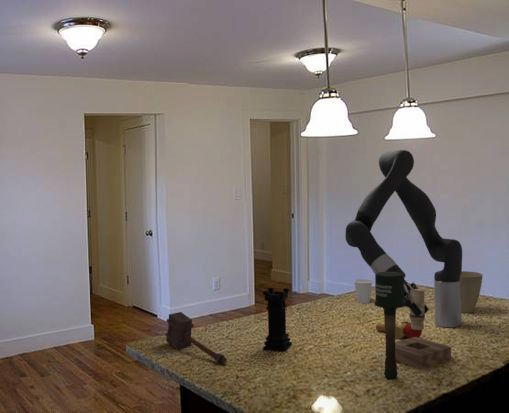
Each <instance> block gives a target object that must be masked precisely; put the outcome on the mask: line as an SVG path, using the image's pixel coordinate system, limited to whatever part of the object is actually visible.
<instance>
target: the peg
mask: <svg viewBox="0 0 509 413" xmlns="http://www.w3.org/2000/svg"><path fill="white" fill-rule="evenodd" d="M410 294H411V299H412V300H413V302H414V303H415V304H416V305H417V306H418V308H419V309H420V310H421V311H422V314H421V315H419V316H418V317H417V316H416V315H415V314H414V313H413V312H412V311H411V309H410V308H409V319H410V323H411V329H414V330H422V331H423V330H424V329H425V326H424V324H425V323H424V321H425V317H426V313H425V305H426V304H425V289H420V288H418V289H411V290H410ZM414 303H413V304H414Z"/></svg>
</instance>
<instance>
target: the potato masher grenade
mask: <svg viewBox="0 0 509 413" xmlns="http://www.w3.org/2000/svg"><path fill="white" fill-rule="evenodd" d="M374 278H375V279H374V280H375V281H374V282H375V291H374V292H375V301H374V306H375V307H378V308H382V309H383V315H384V318H383V319H384V320H383V321H384V323H383V324H384V325H385V331H384V333H385V360H384V372H383V373H384V377H385V378H386V379H389V380H395V379H397V378H398V374H399V372H398V368H397V367H398V366H397V364H398V363H397V361H396V358H395V342H396V337H395V327H396V325H397V321H396V320H397V319H396V318H397V317H396V316H397V314H396V313H397V310H398V309H399V308H405V307H406V306H405V302H404V280H405V278H404V275H403V274H402V273H399V272H378V273H376V274H375V273H374ZM404 306H405V307H404Z"/></svg>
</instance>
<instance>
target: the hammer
mask: <svg viewBox="0 0 509 413" xmlns="http://www.w3.org/2000/svg"><path fill="white" fill-rule="evenodd" d="M166 323H167V324H168V326H167V332H165V333H164V335H165V337H166V338H165V341H166V342H167V343H168V344H169V345H171V347H173V348H174V349H176V350H178V349H184V348H187V347H190V346H195V347H197V348H198V349H200V351H202V352H204V353H205V354H207V355H208V356H210V357H211V358H213V359H214V361H216V362H217V363H218V364H219V365H220V364H223V365H227V364H228V359H227V358H226V357H225V355H224V354H222V353H218V352H215V351H213V350H211V349H210V348H208V347H207V346H205V345H204V344H202V343H201V342H199V341H198V340H196V339H195V338H194V337H192V328H194V324H193V319H192V318H191V317H189V316H187V315H186V314H185V313H183V312H182V311H179V312H178V311H177V312H174V313H170V314H168V318H167V319H166ZM192 344H193V345H192Z"/></svg>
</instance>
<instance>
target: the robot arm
mask: <svg viewBox="0 0 509 413" xmlns="http://www.w3.org/2000/svg"><path fill="white" fill-rule="evenodd" d="M414 160H415V159H414V156H413V154H412V153H411V152H410V151H409V150H406V149H398V150H388V151H385V152H383V153H381V155H380V156H379V157H378V165H379V169H380V172H381V174H382V175H383V177H384V179H383V180H382V181H381V182H380V183H378V184H377V186H375V187H374V188H373V189H372V190H371V191H370V192H369V193H368V194H367V195H366V196H365V198H364V200H363V201H362V203H361V205H360V206H359V208H358V210H357V212H356V216H355V219H354V220H352V221H350V222H349V223H348V224H347V225H346V228H345V242H346V243H347V245H349V246H350V247H352V248H357V249H358V250H359V252H360V255H361V257H362V259H363V260H364V262H365V263H366V264H367V265H368V266H369V267H370V270H372V272H373V274H374V275H375V274H376V273H378V272H399V273H402V274H403V275H404V302H405V306H404V307H403V308H405V307H406V308H409V310H410V309H411V311H412V312H413V313H414V314H415V315H416V316H417V317H418V316H419V315H421V314H422V311H421V310H420V309H419V308H418V306H417V305H416V304H415V303H414V302H413V300H412V299H411V294H410V290H411V289H419V288H418V286H417V284H416V283H415V282H412V283H409V282H408V281H407V280H406V279H405V278H406V273H405V272H404V271H403V269H402V268H401V267H400V266H399V265H398V264H397V263H396V261H395V260H394V259H393V257H391V256H390V255H389V254H388V253H387V252H386V251H385V250H384V249H383V248H382V247H381V245H379V243H378V242H377V240H376V238H375V237H374V235H373V234H372V232H371V230H372V228H373V226H374V224H375V223H376V221H377V220H378V217H379V216H380V214H381V212H382V210H383V209H384V207H385V206H386V204H387V202H388V201H389V200H390V198H391V197H392V196H393V194H394V193H396V195H397V196H398V197H399V200H400V201H401V202H402V204H403V206H404V208H405V210H406V212H407V213H408V215H409V217H410V219H411V220H412V222H413V224H414V226H416V229H417V230H418V232H419V234H420V236H421V238H422V240H423V242H424V244H425V247H426V249H427V252H428V253H429V256H430V257H431V259H432V260H434V261H435V262H439V263H443V268H442V270H439V271H436V272H435V273H434V277H433V278H434V280H433V281H434V282H433V283H434V286H433V287H434V324H435V325H436V326H438V327H442V328H457V327H461V325H462V320H463V319H462V313H461V299H460V275H461V271H463V270H462V268H463V247H462V244H461V242H460V241H458V240H457V239H453V238H443V237H442V236H441V235H440V233H439V232H438V229H437V227H436V220H437V211H436V207H435V206H434V204H433V203H432V201H431V199H430V197H429V196H428V195H427V194H426V193H425V191H423V190H422V189H421V188H419V186H417V185H415V183H413V182H412V181H411V180H410V179H409V178H408V176H409V175H410V173H411V172H412V170H413V168H414V165H415V161H414ZM413 303H414V304H413ZM429 311H430V308H429V307H428V306H427V304H425V314H427V312H429Z"/></svg>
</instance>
